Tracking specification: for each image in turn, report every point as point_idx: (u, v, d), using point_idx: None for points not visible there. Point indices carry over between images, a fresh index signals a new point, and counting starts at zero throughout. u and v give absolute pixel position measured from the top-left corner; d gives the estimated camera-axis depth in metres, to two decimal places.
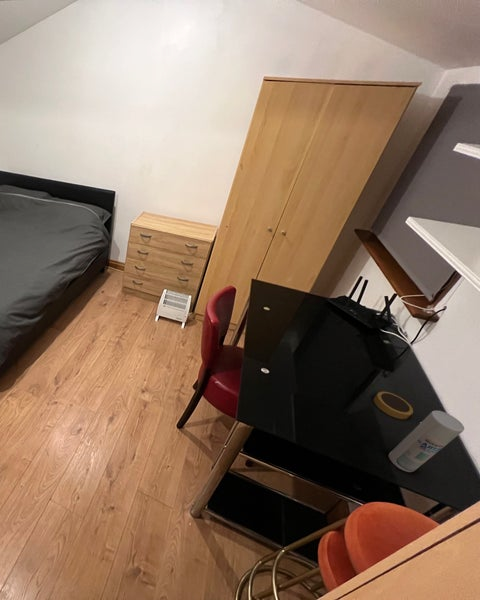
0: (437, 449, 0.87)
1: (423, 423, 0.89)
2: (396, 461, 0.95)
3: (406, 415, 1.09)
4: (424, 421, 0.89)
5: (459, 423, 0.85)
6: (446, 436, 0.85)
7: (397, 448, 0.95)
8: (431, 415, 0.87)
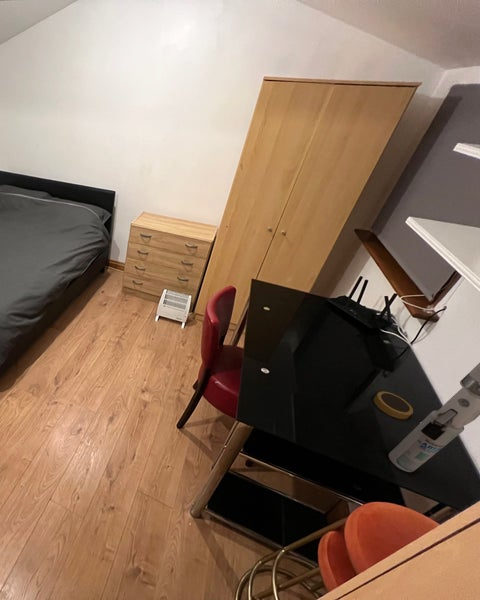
0: (437, 449, 0.87)
1: (423, 423, 0.89)
2: (396, 461, 0.95)
3: (406, 415, 1.09)
4: (424, 421, 0.89)
5: None
6: (446, 436, 0.85)
7: (397, 447, 0.95)
8: (431, 415, 0.87)
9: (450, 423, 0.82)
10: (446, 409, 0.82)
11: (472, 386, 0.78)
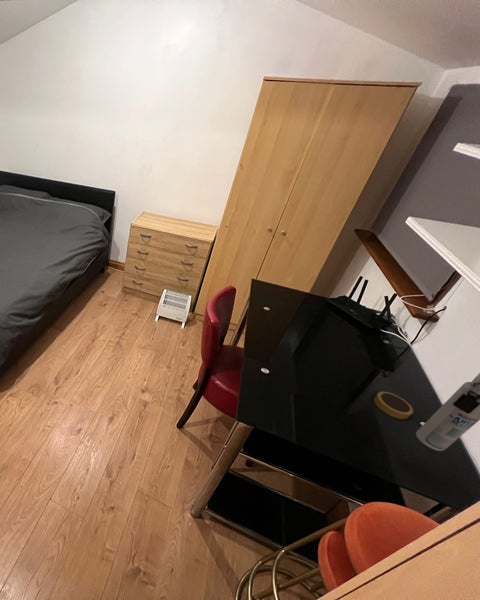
0: (471, 423, 0.81)
1: (455, 396, 0.82)
2: (425, 440, 0.88)
3: (406, 415, 1.09)
4: (456, 394, 0.82)
5: None
6: None
7: (425, 425, 0.89)
8: (464, 386, 0.81)
9: None
10: None
11: None
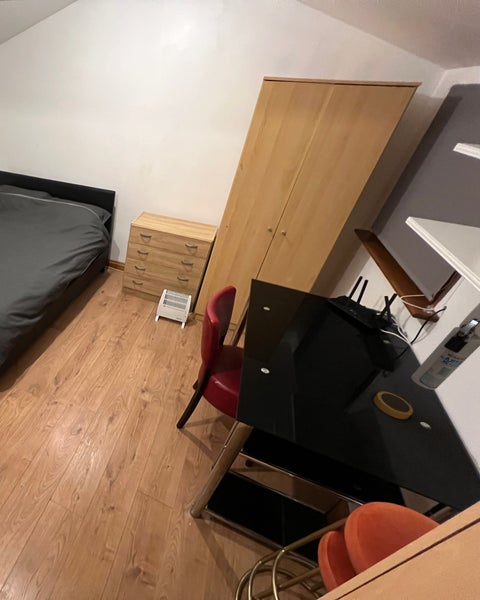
0: (459, 362, 0.94)
1: (445, 339, 0.95)
2: (419, 380, 1.01)
3: (406, 415, 1.09)
4: (446, 337, 0.95)
5: None
6: (468, 347, 0.91)
7: (420, 368, 1.02)
8: (453, 330, 0.93)
9: (472, 333, 0.89)
10: (469, 320, 0.88)
11: None
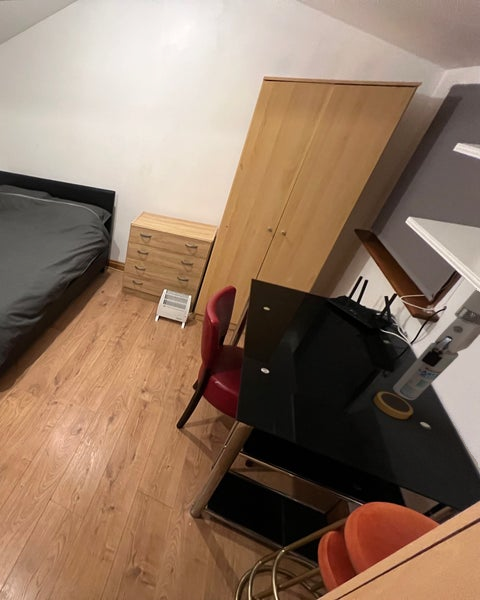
0: (435, 375, 1.01)
1: (423, 354, 1.03)
2: (400, 391, 1.09)
3: (406, 415, 1.09)
4: (424, 352, 1.03)
5: None
6: (442, 362, 0.98)
7: (400, 379, 1.09)
8: (430, 346, 1.01)
9: (446, 349, 0.96)
10: (443, 337, 0.96)
11: (465, 314, 0.92)
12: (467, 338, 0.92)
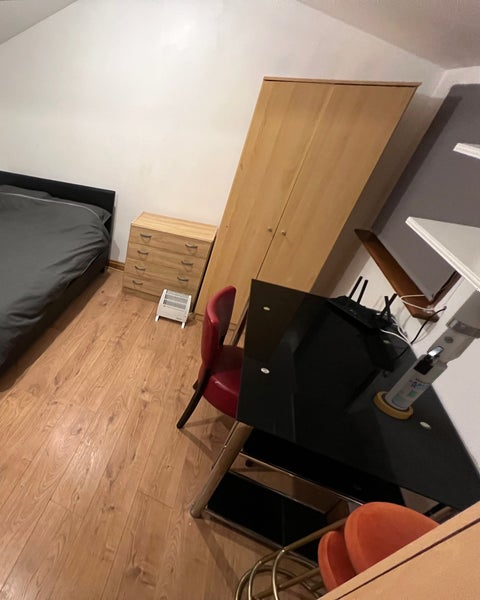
0: (425, 386, 1.04)
1: (414, 365, 1.05)
2: (391, 401, 1.11)
3: (406, 415, 1.09)
4: (414, 363, 1.05)
5: (443, 363, 1.01)
6: (432, 373, 1.01)
7: (392, 389, 1.12)
8: (420, 357, 1.03)
9: (438, 358, 0.98)
10: (434, 347, 0.98)
11: (455, 325, 0.94)
12: (458, 348, 0.94)
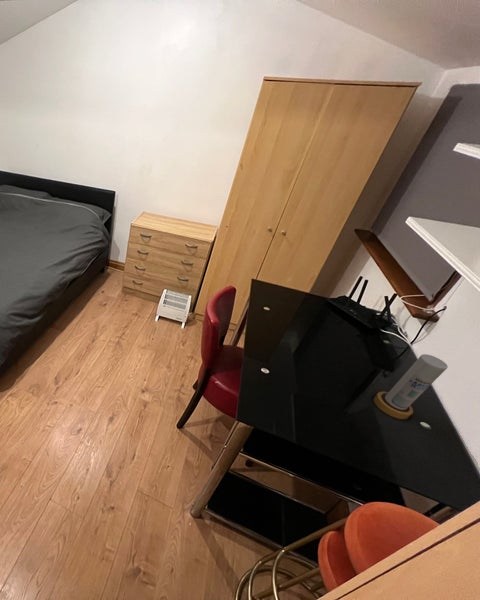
0: (425, 386, 1.04)
1: (414, 365, 1.05)
2: (391, 401, 1.11)
3: (406, 415, 1.09)
4: (414, 363, 1.05)
5: (443, 363, 1.01)
6: (432, 373, 1.01)
7: (392, 389, 1.12)
8: (420, 357, 1.03)
9: None
10: None
11: None
12: None
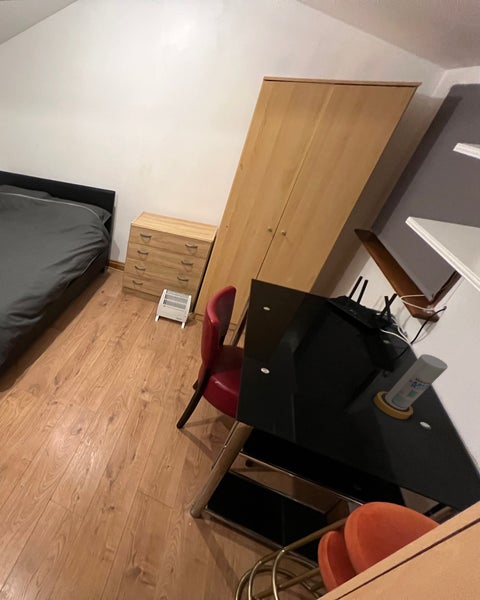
0: (425, 386, 1.04)
1: (414, 365, 1.05)
2: (391, 401, 1.11)
3: (406, 415, 1.09)
4: (414, 363, 1.05)
5: (443, 363, 1.01)
6: (432, 373, 1.01)
7: (392, 389, 1.12)
8: (420, 357, 1.03)
9: None
10: None
11: None
12: None
